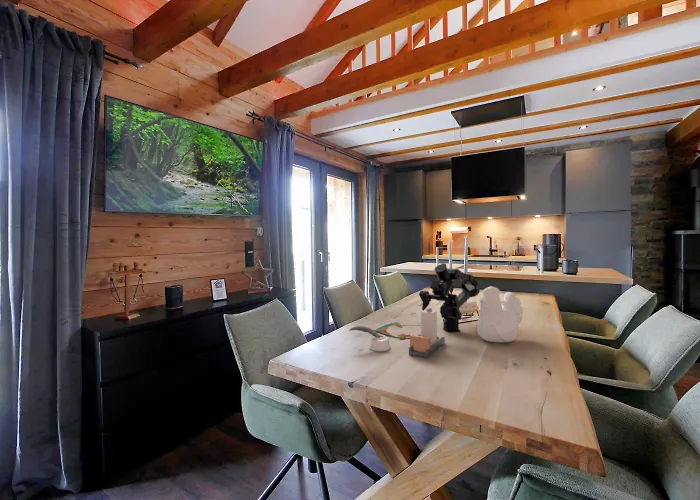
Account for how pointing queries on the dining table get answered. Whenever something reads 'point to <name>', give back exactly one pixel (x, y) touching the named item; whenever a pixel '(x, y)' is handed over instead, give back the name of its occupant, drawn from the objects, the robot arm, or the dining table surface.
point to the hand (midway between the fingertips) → (431, 311)
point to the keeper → (429, 324)
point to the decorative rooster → (499, 316)
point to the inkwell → (375, 339)
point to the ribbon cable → (383, 330)
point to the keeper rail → (433, 349)
